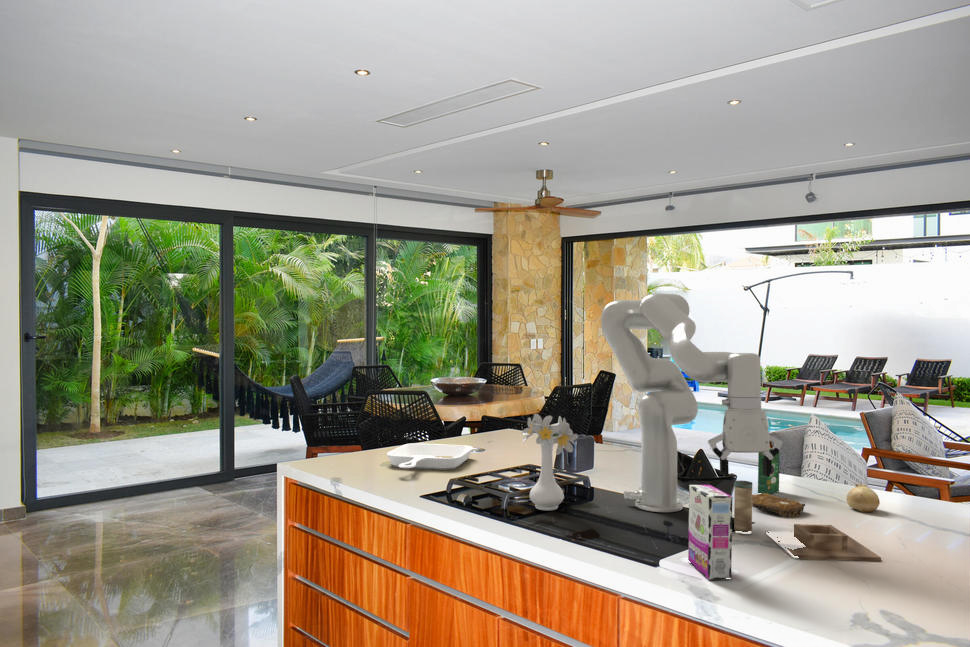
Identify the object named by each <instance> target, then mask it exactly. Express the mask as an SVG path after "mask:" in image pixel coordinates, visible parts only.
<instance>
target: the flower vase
mask: <svg viewBox="0 0 970 647" xmlns="http://www.w3.org/2000/svg"><path fill="white" fill-rule="evenodd" d="M552 420H553V416H552V415H547V416H545V417H544V418H543V419H542V417H541V415H539V414H538V413H534V414H533V418H531V417H528V419H527V427H526V428H524V429H522V432H521V436H524V437H523V440H522V443H524V442H525V441H526V440H528V438H530V437H531V436H533V435H534V434H537V437H536V439H535V443H536V444H538V445H540V451H541V457H540V458H541V461H540V462H541V463H540V464H541V465H540V473H539V478H538V480H537V481H536V483H535V484H534V485H533V486H532V488H531V489H530V491H529V499H530V501H531V502H532V503H533V505H534V506H535V509H536V510H539V511H545V512H547V511H548V512H551V511H555V510H558V508H559V505H560V504H561V503H562V502H563V501H564V498H565V495H564V491H563V489H562V488H561V486H560V485H559V484H558V483H557V482H556V481H557V480H556V479H555V475H554V468H553V467H554V464H553V463H554V462H553V450H554V445H555V444H557V447H556V451H555V453H556V455H558V456H559V455H561V453H562V452H563V450H564V449H565V451H567V452H568V453H573V451H574V447H573V445H575V444H576V443H575V440H577V439H578V438H579V435H578V433H574V431H573V430H572V429H571V427H570V423H568V422H567V420H566V417H563V418H562V417H561V415H559V416H558V420H557V423H553V424H550V423H551V422H552Z"/></svg>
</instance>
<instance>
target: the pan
mask: <svg viewBox="0 0 970 647" xmlns="http://www.w3.org/2000/svg"><path fill="white" fill-rule="evenodd" d="M473 449H474V447H473V446H471V445H464V444H463V445H461V444H443V443H425V442H424V443H421V442H417V443H416V442H415V443H414V442H413V443H412V442H411V443H406V444H403V445H400V446H399V447H395V449H393V450H390V451H387V453H386V456H387V458H388V460H389V462H390V464H391V466H392V467H395V468H401V469H416V470H417V469H419V470H432V469H436V470H435V471H437V470H438V471H447V470H446V469H451V470H455V469H454V468H456V467H458V466H459V465H460V466H462V465H463V464H464V463H465V462H464V461H466V460H467V459H468V460H469V458H470V455H471V454H472V452H473ZM435 456H452V457H453V456H454V457H453V458H442V457H439V458H438V457H435ZM468 460H467V461H468ZM467 461H466V462H467ZM463 462H464V463H463ZM462 463H463V464H462ZM461 464H462V465H461ZM460 466H459V467H460ZM459 467H458V468H459ZM456 469H457V468H456Z"/></svg>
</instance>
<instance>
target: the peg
mask: <svg viewBox="0 0 970 647" xmlns="http://www.w3.org/2000/svg"><path fill="white" fill-rule="evenodd" d="M733 483H734V484H733V485H734V490H733V492H734V496H733V497H734V498H733V499H734V500H733V501H734V503H733V504H734V505H733V506H734V508H733V509H734V511H733V512H734V515H733V517H734V519H733V522H734V523H733V524H734V526H733V528H734V529H733V531H734V530H735V531H742V532H748V531H752V532H753V505H752V495H753V482H752V481H748V480H735V481H734V482H733Z"/></svg>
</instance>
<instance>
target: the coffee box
mask: <svg viewBox="0 0 970 647" xmlns="http://www.w3.org/2000/svg"><path fill="white" fill-rule="evenodd" d="M772 448H773V447H770V448H769V450H768V451H770V450H771V449H772ZM757 454H758V462H757V464H758V465H757V466H758V467H757V470H758V472H757V494H758V493H766V494H770V493H771V494H774V492H776V493H777V491H779V492H780V451H779V452H778V453H777V454H776V455H775V456H774V458H773V459H772V472H771V473H770V477H767V476H765V475H763V466H762V459H763V458H764V455H763V454H762V453H757ZM771 494H770V495H771Z"/></svg>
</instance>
